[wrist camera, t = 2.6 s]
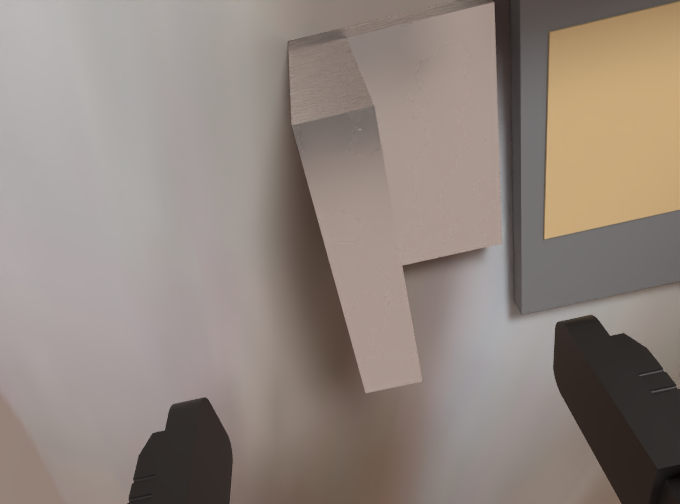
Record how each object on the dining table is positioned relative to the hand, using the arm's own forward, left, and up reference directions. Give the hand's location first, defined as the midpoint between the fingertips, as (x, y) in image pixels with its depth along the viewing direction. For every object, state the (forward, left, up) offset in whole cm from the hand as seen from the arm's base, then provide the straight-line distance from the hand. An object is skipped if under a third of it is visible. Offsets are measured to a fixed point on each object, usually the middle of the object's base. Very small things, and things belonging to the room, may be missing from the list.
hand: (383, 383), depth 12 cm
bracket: (-3, 0, -12) cm, 12 cm away
